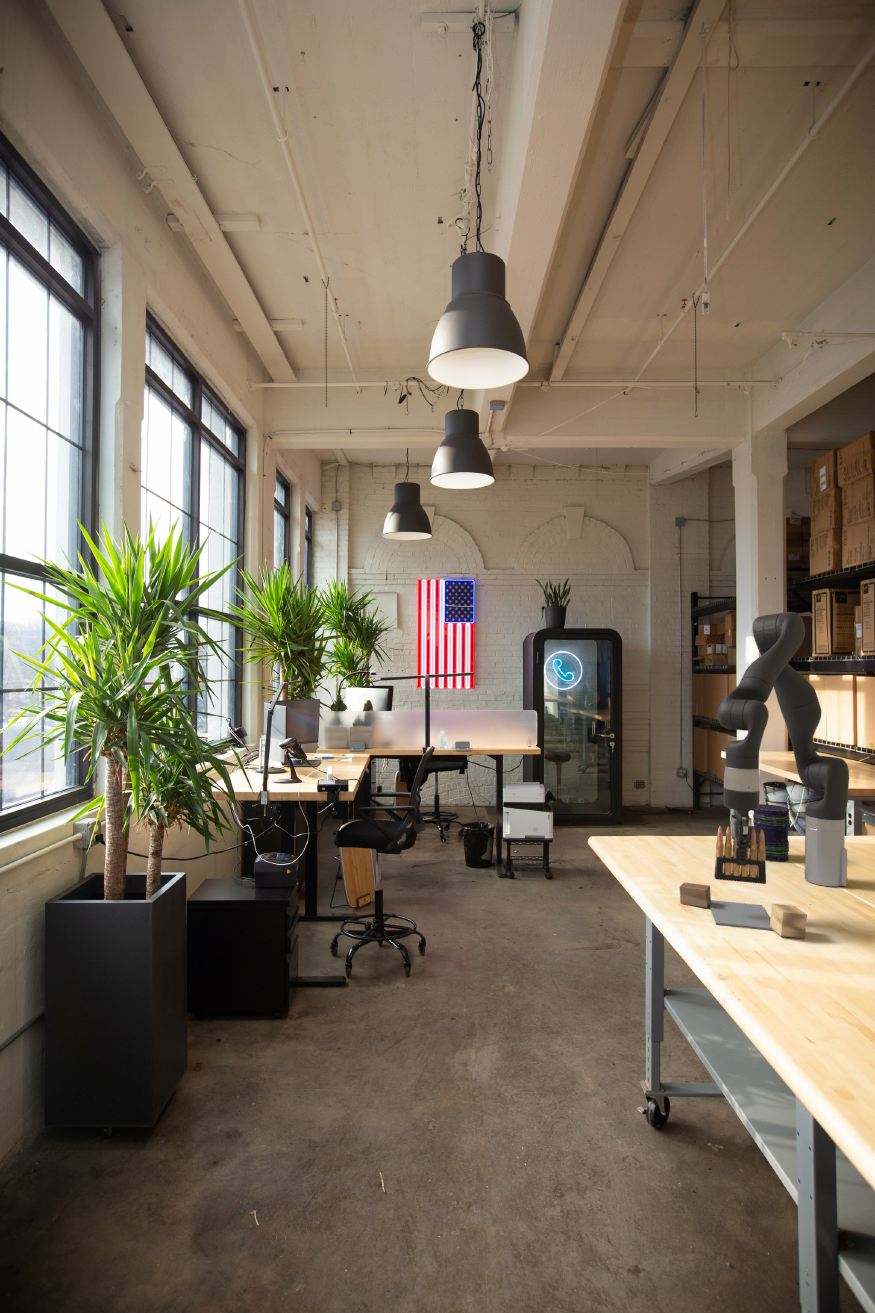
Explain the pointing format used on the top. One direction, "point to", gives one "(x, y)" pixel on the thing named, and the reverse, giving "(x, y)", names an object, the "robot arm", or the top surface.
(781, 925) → the oak block
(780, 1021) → the top surface
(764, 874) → the ammunition clip
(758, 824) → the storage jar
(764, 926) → the pad
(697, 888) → the walnut block
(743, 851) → the robot arm
